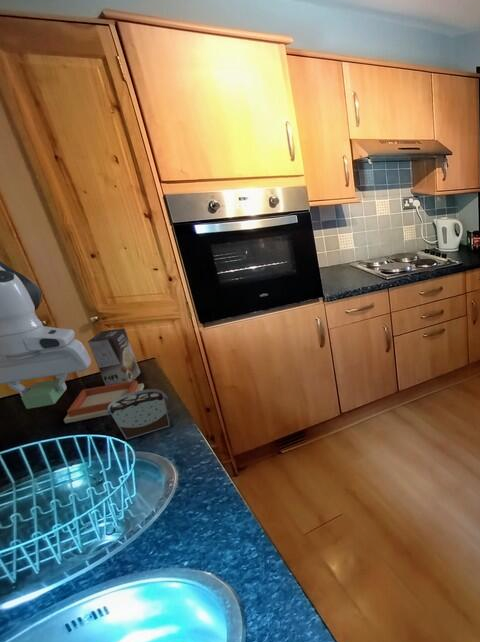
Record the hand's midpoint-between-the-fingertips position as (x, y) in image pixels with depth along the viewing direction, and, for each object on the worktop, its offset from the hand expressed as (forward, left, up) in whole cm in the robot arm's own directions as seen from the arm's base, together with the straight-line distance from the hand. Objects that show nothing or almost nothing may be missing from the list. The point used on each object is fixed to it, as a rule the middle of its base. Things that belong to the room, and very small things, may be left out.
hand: (45, 392), depth 109 cm
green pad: (0, 0, -2) cm, 2 cm away
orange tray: (+4, +19, -15) cm, 24 cm away
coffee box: (+5, +34, -15) cm, 37 cm away
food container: (+17, -1, -15) cm, 22 cm away
